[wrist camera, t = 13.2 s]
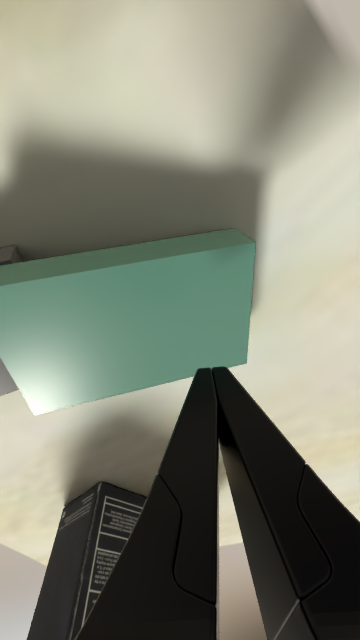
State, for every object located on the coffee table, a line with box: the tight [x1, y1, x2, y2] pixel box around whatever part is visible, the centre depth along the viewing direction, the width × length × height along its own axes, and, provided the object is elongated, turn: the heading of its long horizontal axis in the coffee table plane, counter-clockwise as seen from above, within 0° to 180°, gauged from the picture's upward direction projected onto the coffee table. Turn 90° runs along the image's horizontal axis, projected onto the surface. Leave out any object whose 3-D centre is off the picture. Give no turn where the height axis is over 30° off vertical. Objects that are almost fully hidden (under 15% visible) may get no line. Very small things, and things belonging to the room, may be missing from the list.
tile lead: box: [0, 228, 256, 415], centre depth 11 cm, size 2×6×9 cm
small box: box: [27, 482, 147, 640], centre depth 21 cm, size 11×6×10 cm, turn 49°
